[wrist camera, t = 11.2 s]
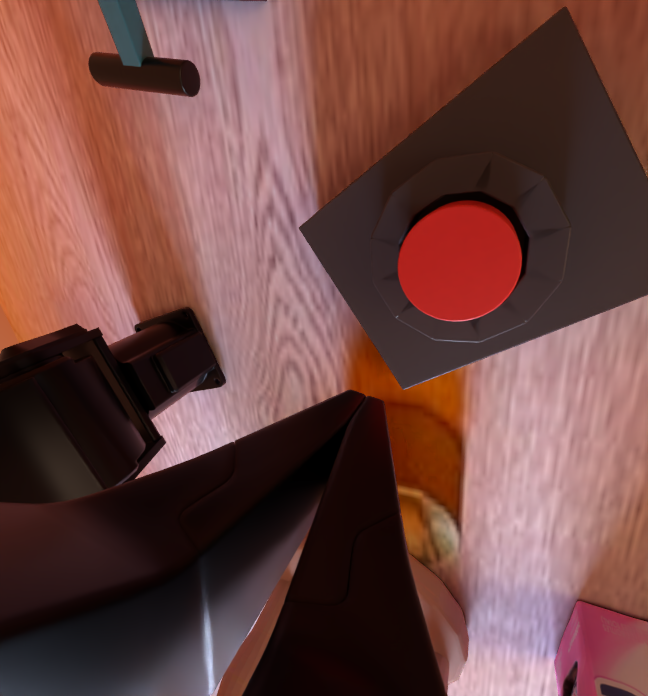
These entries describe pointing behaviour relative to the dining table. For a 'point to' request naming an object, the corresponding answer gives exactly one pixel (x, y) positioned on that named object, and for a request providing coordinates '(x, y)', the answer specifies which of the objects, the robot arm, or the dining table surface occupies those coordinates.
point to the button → (460, 261)
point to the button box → (499, 207)
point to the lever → (138, 57)
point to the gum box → (602, 654)
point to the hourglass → (436, 607)
